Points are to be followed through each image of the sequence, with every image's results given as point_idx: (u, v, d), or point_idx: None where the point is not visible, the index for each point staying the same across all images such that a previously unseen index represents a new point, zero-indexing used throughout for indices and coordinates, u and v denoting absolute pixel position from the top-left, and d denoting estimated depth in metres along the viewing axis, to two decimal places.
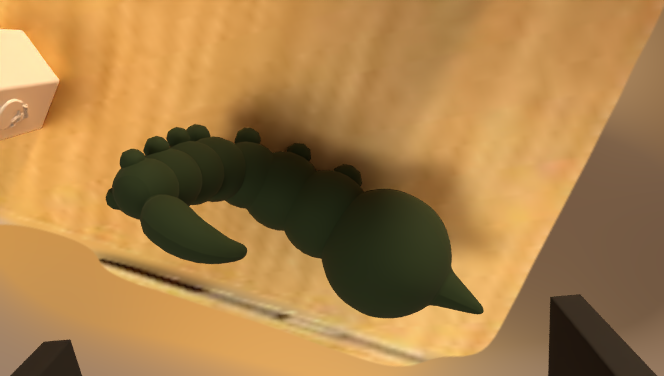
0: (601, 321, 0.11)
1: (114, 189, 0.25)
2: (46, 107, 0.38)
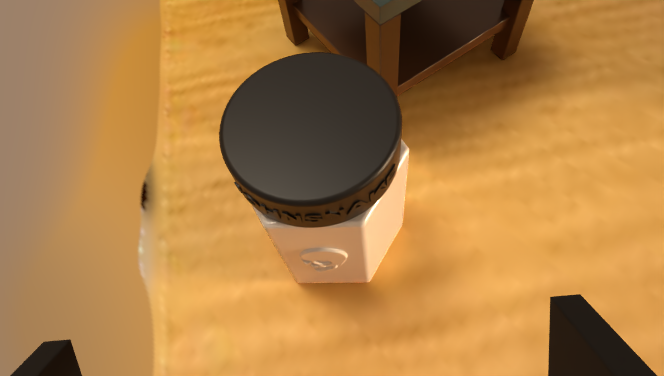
0: (601, 321, 0.11)
1: None
2: (329, 281, 0.29)
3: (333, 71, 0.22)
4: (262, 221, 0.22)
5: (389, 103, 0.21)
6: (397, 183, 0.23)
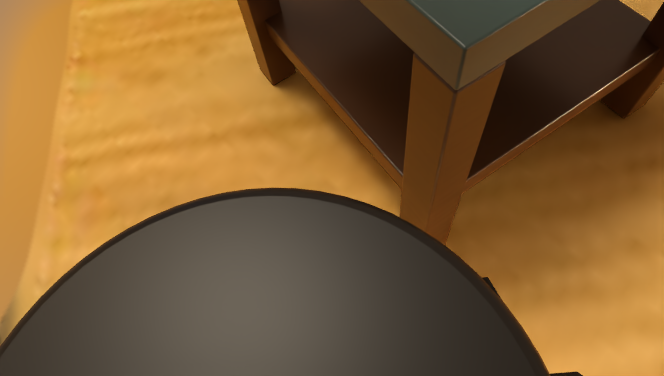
0: None
1: None
2: None
3: (333, 265, 0.07)
4: None
5: None
6: None
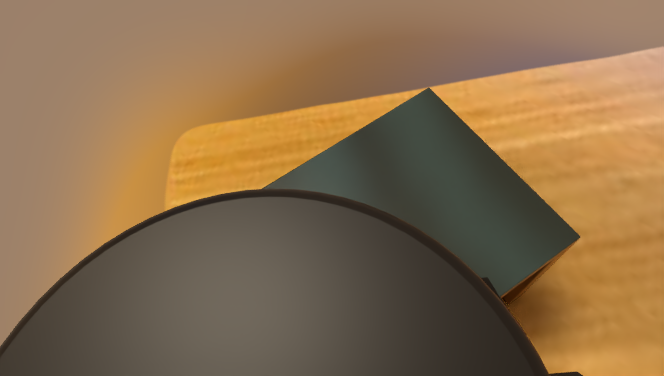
0: None
1: None
2: None
3: (332, 266, 0.07)
4: None
5: None
6: None
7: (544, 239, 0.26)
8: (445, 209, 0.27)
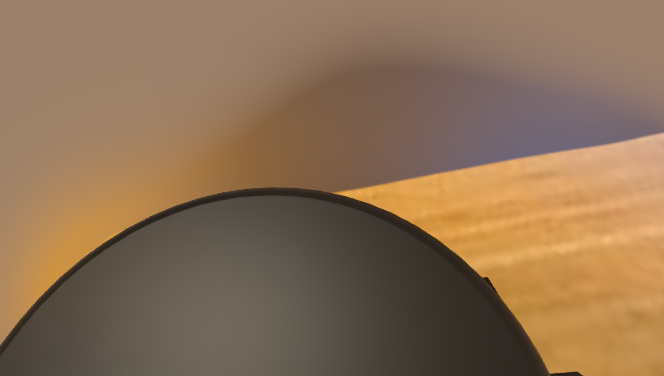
0: None
1: None
2: None
3: (332, 265, 0.07)
4: None
5: None
6: None
7: None
8: None
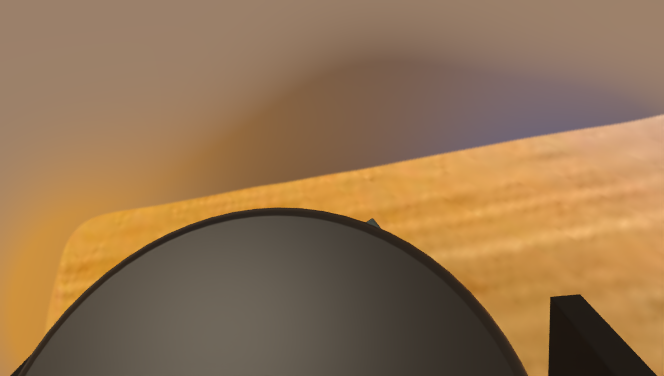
0: (601, 321, 0.11)
1: None
2: None
3: (335, 280, 0.07)
4: None
5: None
6: None
7: None
8: None
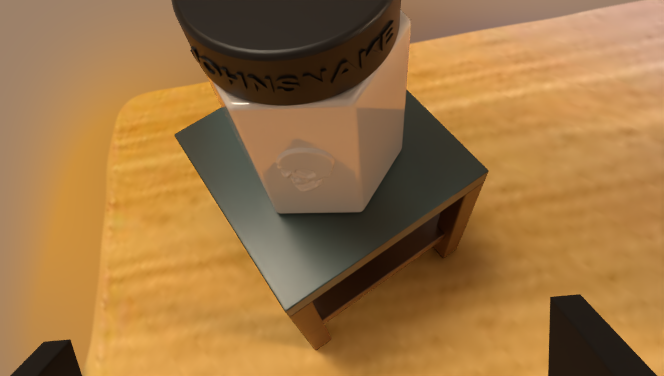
0: (601, 321, 0.11)
1: None
2: (315, 209, 0.24)
3: None
4: (226, 101, 0.17)
5: None
6: (396, 67, 0.19)
7: (452, 174, 0.25)
8: None
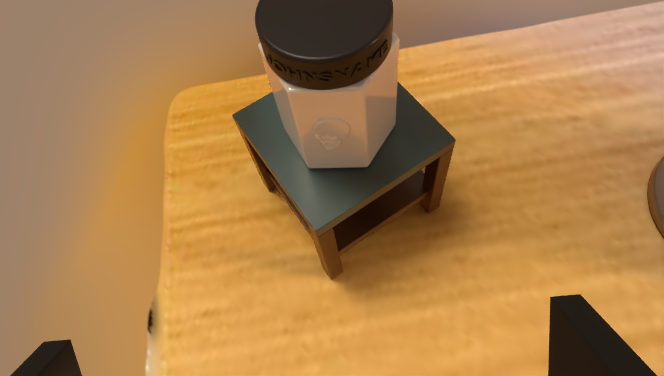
0: (601, 321, 0.11)
1: None
2: (335, 165, 0.36)
3: None
4: (286, 87, 0.28)
5: None
6: (390, 67, 0.30)
7: (430, 141, 0.36)
8: None
